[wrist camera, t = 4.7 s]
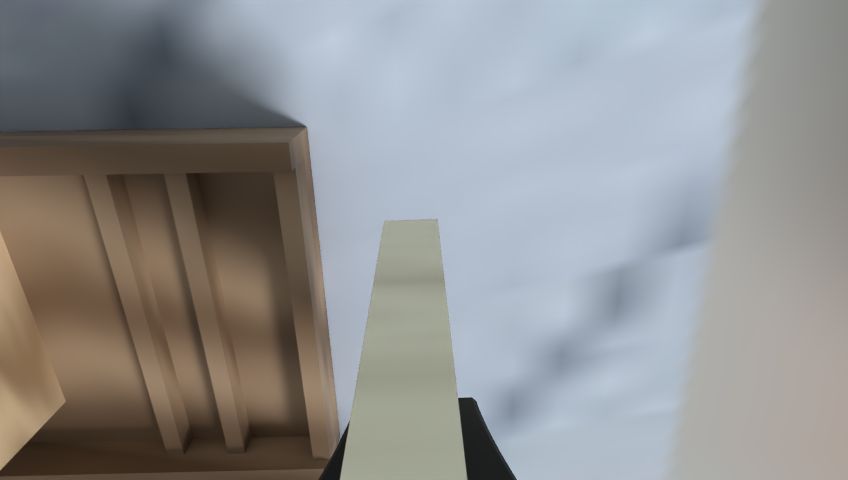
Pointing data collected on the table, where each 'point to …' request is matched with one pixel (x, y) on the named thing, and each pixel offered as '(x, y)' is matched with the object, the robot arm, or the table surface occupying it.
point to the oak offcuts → (21, 367)
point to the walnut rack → (173, 302)
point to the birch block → (406, 367)
